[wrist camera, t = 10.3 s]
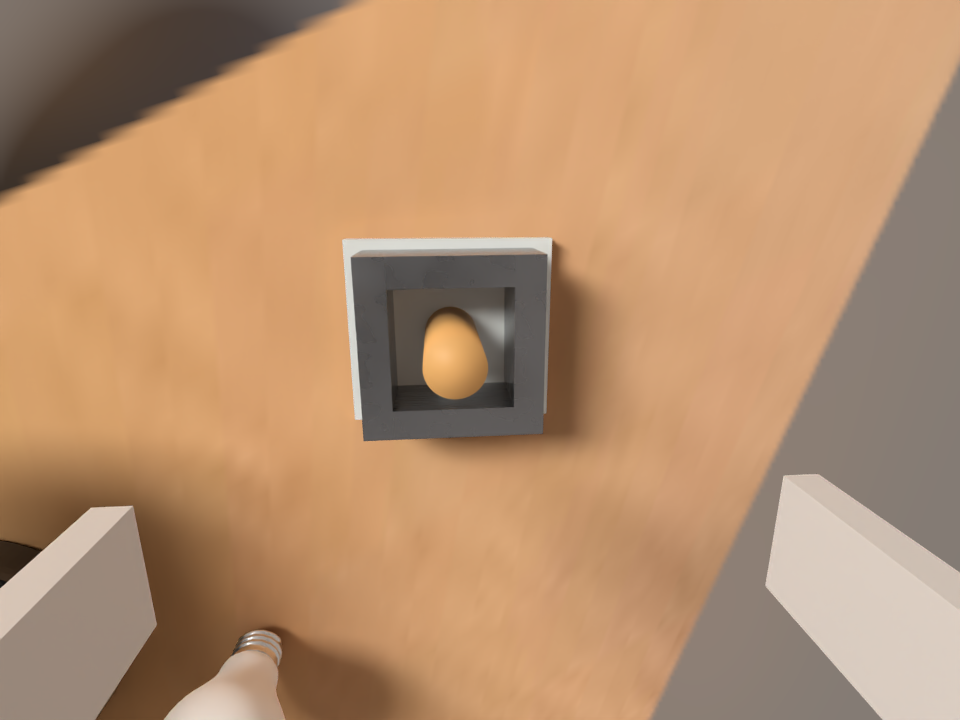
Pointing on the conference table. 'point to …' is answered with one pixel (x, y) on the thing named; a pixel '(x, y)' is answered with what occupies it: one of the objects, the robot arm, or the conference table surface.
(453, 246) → the keeper
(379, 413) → the grey square frame
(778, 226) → the conference table surface
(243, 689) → the light bulb
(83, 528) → the robot arm
